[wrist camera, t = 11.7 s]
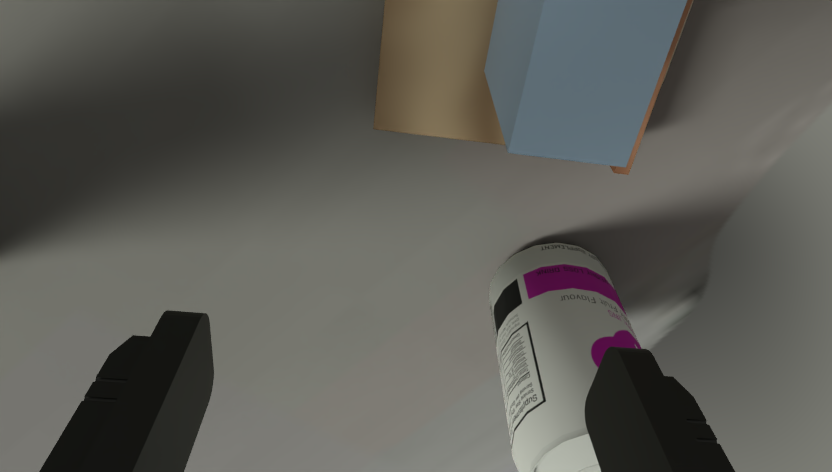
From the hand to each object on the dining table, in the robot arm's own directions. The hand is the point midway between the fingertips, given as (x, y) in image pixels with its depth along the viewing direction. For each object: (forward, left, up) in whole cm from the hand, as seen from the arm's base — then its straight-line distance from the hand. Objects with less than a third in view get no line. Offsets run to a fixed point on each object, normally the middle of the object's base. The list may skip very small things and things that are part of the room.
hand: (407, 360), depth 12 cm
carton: (+6, +4, -22) cm, 23 cm away
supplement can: (+11, -15, -24) cm, 30 cm away
